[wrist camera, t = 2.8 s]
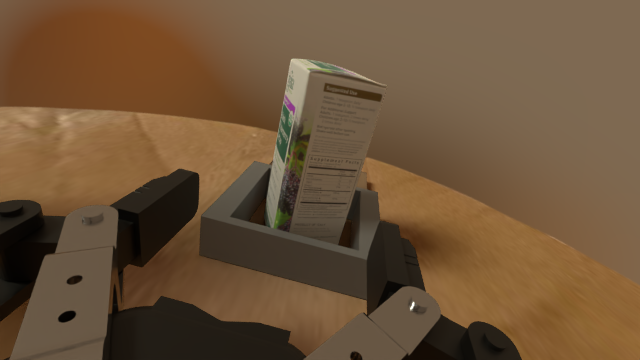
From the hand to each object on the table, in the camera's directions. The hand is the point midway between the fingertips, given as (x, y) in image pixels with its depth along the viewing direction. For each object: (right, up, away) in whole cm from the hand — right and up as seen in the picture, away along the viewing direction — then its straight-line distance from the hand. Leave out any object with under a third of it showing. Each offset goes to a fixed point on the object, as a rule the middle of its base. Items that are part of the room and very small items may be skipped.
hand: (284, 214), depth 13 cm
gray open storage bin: (0, -3, +14) cm, 14 cm away
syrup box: (0, -4, +14) cm, 14 cm away
